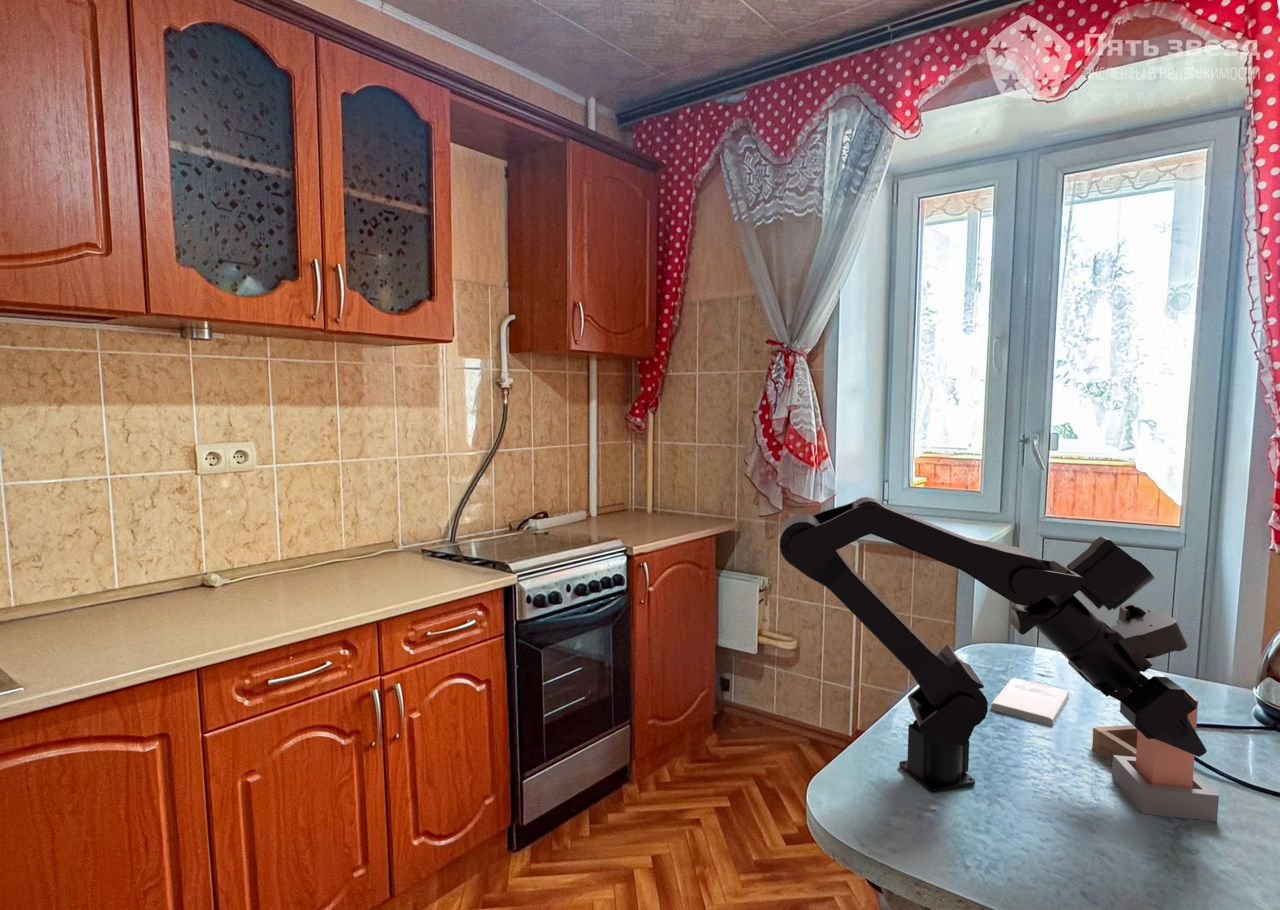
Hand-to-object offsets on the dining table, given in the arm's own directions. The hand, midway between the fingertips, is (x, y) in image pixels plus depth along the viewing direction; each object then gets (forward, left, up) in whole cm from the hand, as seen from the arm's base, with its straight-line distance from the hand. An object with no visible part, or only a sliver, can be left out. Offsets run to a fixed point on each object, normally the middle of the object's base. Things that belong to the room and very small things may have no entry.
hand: (1179, 733), depth 80 cm
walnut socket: (+4, +8, -8) cm, 12 cm away
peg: (-1, +1, -8) cm, 8 cm away
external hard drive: (+5, +25, -9) cm, 27 cm away
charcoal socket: (-1, +1, -8) cm, 8 cm away
